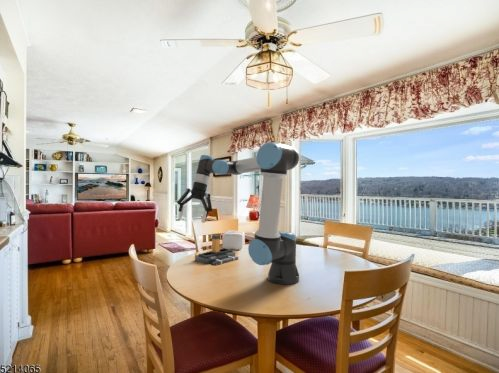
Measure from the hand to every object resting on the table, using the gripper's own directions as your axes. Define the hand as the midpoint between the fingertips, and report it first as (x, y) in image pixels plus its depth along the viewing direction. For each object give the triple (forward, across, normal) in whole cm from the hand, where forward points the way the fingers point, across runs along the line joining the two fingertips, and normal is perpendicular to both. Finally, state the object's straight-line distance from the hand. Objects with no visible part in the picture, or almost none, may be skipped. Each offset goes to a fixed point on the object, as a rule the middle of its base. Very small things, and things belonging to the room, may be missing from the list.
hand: (191, 220), depth 153 cm
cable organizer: (+16, -49, -29) cm, 59 cm away
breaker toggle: (+17, -25, -9) cm, 32 cm away
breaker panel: (+21, -25, -9) cm, 34 cm away
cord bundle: (+20, -28, -1) cm, 34 cm away
